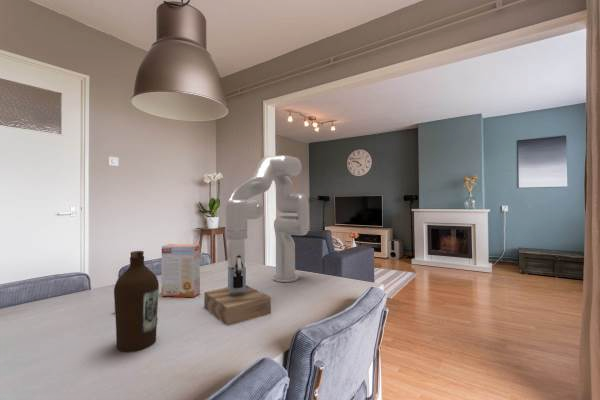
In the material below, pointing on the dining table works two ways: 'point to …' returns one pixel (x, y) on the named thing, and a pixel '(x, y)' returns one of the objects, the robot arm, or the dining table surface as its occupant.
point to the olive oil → (136, 306)
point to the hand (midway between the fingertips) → (236, 284)
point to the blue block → (230, 280)
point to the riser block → (237, 304)
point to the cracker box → (181, 270)
